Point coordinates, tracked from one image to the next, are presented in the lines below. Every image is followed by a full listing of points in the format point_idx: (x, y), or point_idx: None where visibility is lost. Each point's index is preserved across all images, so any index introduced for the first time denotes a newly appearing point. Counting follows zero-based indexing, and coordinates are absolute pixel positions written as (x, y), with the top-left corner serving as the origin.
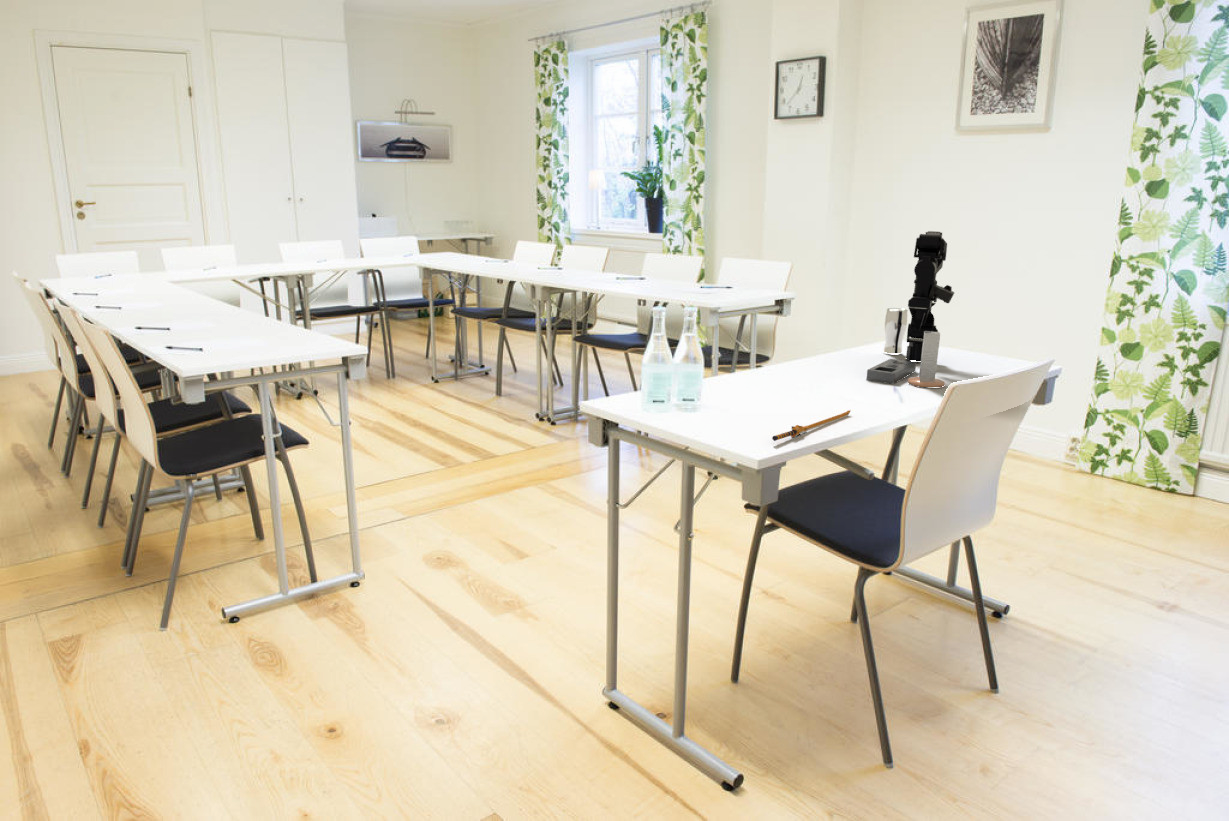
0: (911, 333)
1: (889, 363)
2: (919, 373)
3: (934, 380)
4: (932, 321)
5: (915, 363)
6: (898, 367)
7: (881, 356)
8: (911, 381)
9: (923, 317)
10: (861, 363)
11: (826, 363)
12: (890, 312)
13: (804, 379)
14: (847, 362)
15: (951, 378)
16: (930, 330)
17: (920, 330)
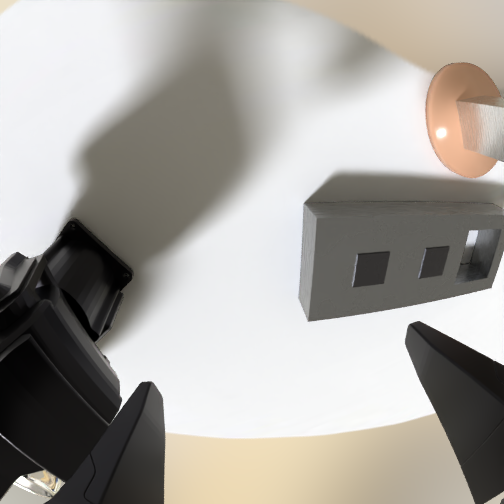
0: (118, 382)
1: (398, 286)
2: (479, 151)
3: (490, 96)
4: (4, 364)
5: (326, 216)
6: (448, 236)
7: (124, 373)
8: (495, 161)
9: (499, 380)
10: (278, 374)
11: (334, 408)
12: (57, 490)
13: (486, 346)
14: (290, 395)
15: (331, 44)
16: (50, 320)
17: (88, 366)
